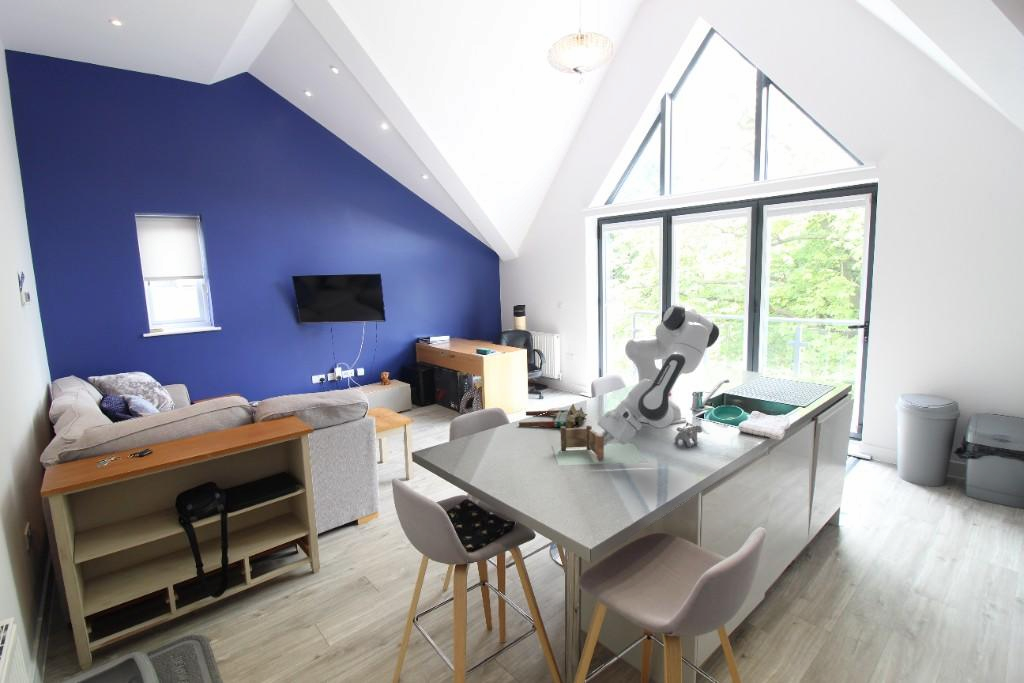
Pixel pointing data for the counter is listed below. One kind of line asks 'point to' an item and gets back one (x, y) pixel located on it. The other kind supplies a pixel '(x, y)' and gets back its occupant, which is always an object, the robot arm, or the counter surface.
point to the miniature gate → (557, 418)
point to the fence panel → (596, 444)
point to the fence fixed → (575, 437)
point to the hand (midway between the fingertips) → (601, 443)
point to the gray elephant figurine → (688, 433)
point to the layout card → (585, 457)
